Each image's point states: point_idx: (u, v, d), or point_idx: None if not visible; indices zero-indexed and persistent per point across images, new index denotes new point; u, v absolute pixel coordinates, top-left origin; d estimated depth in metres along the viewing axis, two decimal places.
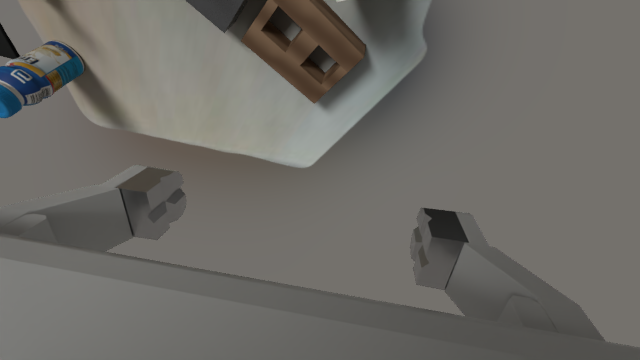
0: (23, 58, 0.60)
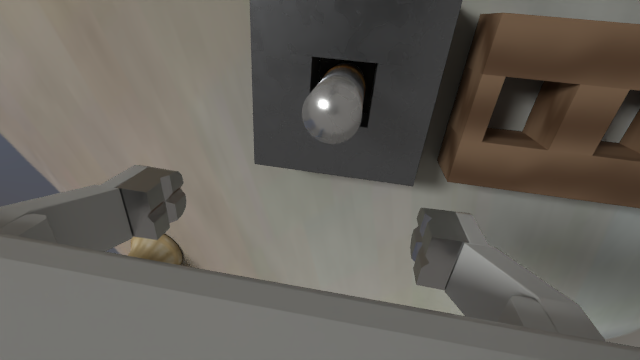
0: None
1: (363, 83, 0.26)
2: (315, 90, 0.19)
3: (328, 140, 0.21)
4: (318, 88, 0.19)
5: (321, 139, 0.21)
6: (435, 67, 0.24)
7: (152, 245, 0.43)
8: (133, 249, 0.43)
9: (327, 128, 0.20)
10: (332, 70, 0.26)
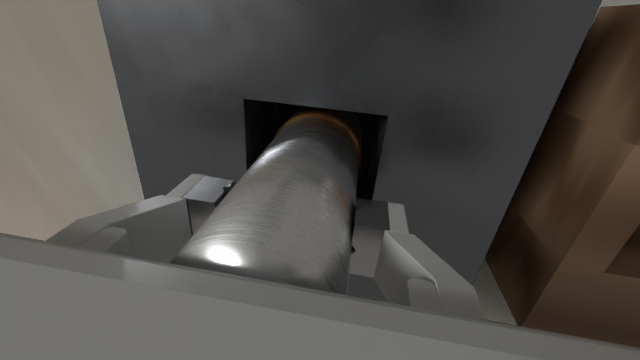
0: None
1: (357, 148, 0.13)
2: (187, 254, 0.06)
3: None
4: (195, 249, 0.06)
5: None
6: (521, 127, 0.10)
7: None
8: None
9: None
10: (291, 125, 0.12)
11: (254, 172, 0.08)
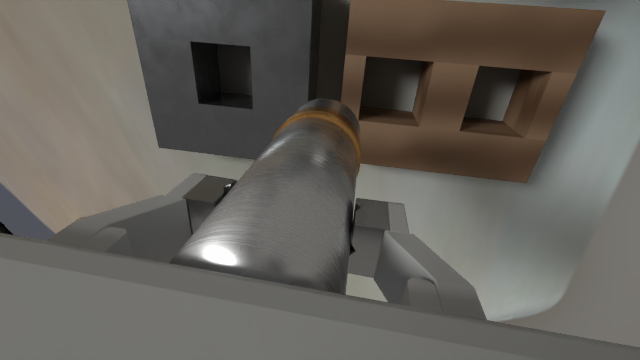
0: None
1: (356, 148, 0.13)
2: (185, 255, 0.06)
3: None
4: (193, 251, 0.06)
5: None
6: (302, 48, 0.25)
7: None
8: None
9: None
10: (290, 126, 0.12)
11: (253, 173, 0.08)
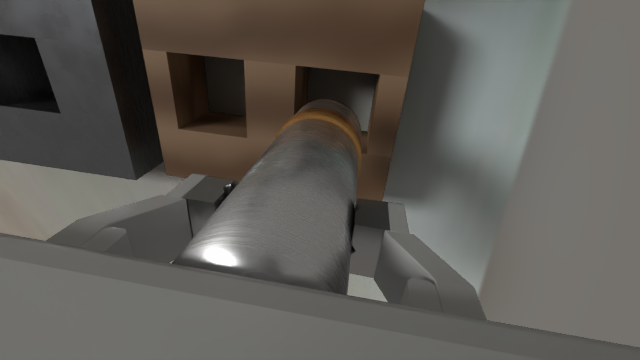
0: None
1: (357, 149, 0.13)
2: (187, 257, 0.06)
3: None
4: (195, 253, 0.06)
5: None
6: (92, 41, 0.21)
7: None
8: None
9: None
10: (291, 127, 0.12)
11: (254, 174, 0.08)
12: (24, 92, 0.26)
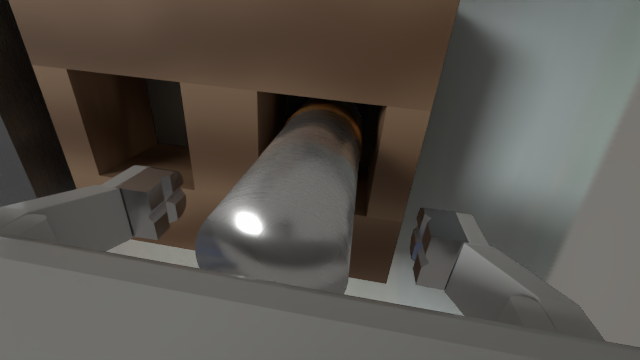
0: None
1: (358, 137, 0.14)
2: (220, 211, 0.07)
3: None
4: (228, 207, 0.07)
5: None
6: None
7: None
8: None
9: None
10: (299, 116, 0.13)
11: (270, 152, 0.10)
12: None
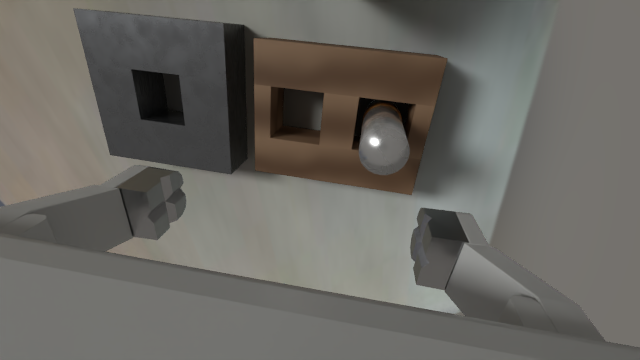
0: None
1: (401, 119, 0.31)
2: (372, 132, 0.23)
3: (379, 171, 0.25)
4: (374, 131, 0.23)
5: (373, 171, 0.25)
6: (219, 78, 0.31)
7: None
8: None
9: (379, 163, 0.24)
10: (375, 108, 0.30)
11: (375, 119, 0.26)
12: (152, 109, 0.36)
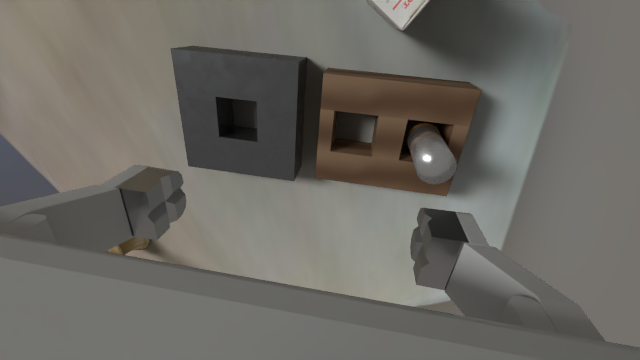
0: None
1: None
2: (428, 152, 0.30)
3: (431, 181, 0.32)
4: (430, 151, 0.30)
5: (426, 181, 0.32)
6: (291, 104, 0.37)
7: None
8: None
9: (432, 175, 0.31)
10: (420, 127, 0.37)
11: (425, 139, 0.33)
12: (225, 127, 0.42)
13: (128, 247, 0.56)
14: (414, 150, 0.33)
